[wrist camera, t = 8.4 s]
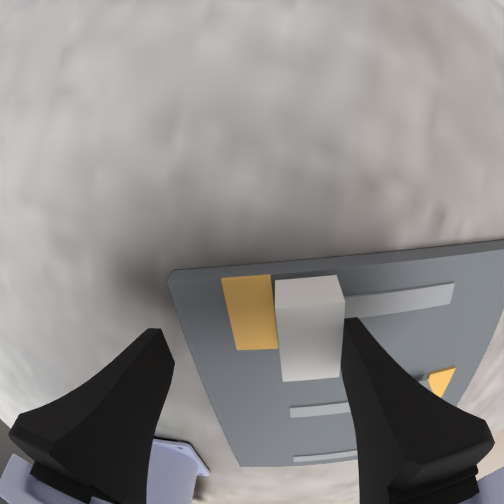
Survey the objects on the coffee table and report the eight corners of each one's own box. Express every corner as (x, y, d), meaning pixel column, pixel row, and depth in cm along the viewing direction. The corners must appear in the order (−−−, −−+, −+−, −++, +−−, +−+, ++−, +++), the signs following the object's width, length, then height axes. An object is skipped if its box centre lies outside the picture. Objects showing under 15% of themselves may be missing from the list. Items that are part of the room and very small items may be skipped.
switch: (282, 352, 13) (282, 381, 12) (275, 280, 11) (274, 308, 10) (333, 348, 13) (339, 377, 11) (336, 274, 11) (345, 301, 10)
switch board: (241, 457, 22) (239, 468, 21) (173, 270, 13) (165, 283, 12) (429, 433, 20) (432, 443, 19) (511, 238, 11) (523, 248, 10)
